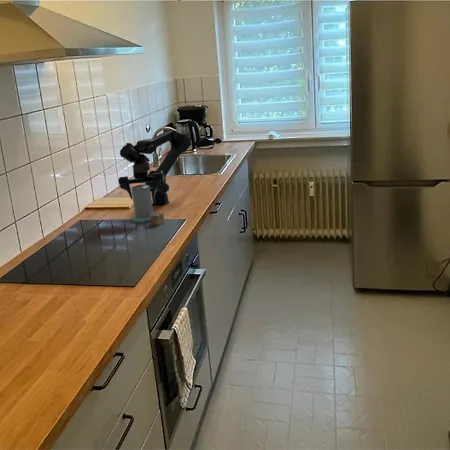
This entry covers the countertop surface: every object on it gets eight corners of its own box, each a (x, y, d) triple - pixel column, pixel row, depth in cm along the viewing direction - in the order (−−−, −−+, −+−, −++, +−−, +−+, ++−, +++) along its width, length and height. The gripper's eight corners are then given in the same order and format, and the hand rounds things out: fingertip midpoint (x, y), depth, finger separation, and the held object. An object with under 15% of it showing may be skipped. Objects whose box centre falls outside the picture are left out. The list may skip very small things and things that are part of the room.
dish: (126, 221, 214) (126, 218, 213) (141, 213, 223) (141, 211, 222) (148, 223, 209) (147, 220, 208) (162, 215, 218) (162, 212, 217)
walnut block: (150, 224, 207) (149, 215, 206) (156, 221, 210) (154, 212, 209) (159, 225, 205) (157, 215, 204) (164, 222, 209) (163, 212, 207)
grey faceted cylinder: (132, 217, 214) (127, 188, 210) (142, 212, 220) (138, 184, 216) (146, 218, 211) (142, 189, 207) (156, 213, 217) (152, 185, 213)
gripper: (115, 158, 213) (116, 190, 206) (160, 153, 214) (162, 185, 207) (120, 172, 223) (121, 203, 216) (163, 168, 224) (165, 199, 217)
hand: (142, 197), depth 214 cm, fingers open, 9 cm apart
